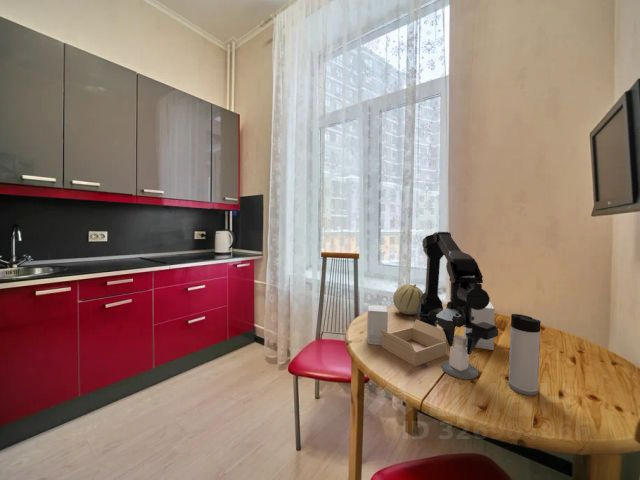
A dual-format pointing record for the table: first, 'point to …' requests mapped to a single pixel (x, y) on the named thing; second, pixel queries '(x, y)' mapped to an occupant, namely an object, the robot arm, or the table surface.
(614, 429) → the table surface
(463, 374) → the coaster
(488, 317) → the supplement box
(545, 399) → the table surface
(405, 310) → the cantaloupe
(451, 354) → the salt shaker
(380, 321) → the supplement box
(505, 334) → the table surface
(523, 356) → the travel mug
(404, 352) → the carton
